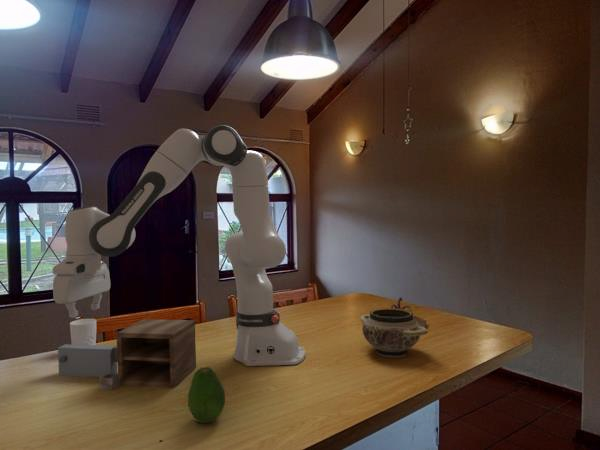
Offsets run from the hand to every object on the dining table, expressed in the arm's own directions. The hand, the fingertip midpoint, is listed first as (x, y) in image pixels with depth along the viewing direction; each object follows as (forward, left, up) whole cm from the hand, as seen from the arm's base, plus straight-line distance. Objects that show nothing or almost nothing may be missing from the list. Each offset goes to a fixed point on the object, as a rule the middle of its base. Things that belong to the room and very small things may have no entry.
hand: (85, 313), depth 122 cm
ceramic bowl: (-86, -27, -18) cm, 92 cm away
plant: (-91, -58, -18) cm, 110 cm away
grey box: (-2, 0, -18) cm, 18 cm away
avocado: (-44, +22, -18) cm, 52 cm away
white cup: (+14, -18, -18) cm, 29 cm away
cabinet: (-20, +1, -18) cm, 26 cm away
